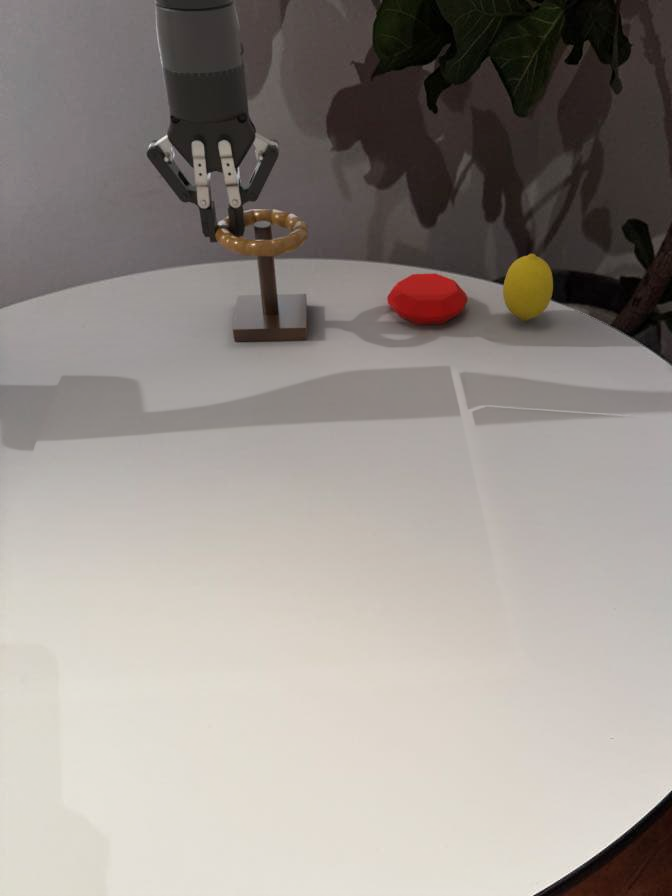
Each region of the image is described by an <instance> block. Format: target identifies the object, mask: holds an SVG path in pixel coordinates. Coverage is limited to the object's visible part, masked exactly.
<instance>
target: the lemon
mask: <svg viewBox="0 0 672 896" xmlns="http://www.w3.org/2000/svg"><path fill="white" fill-rule="evenodd" d="M553 290H554V279H553V272H552V269H551V267H550V266H549V264H548V263H547V262H546V261H545V260H544V259H542V258H541V257H539V256H536V254H535V253H529V254H528V255H523V256H521V257H519V258H517V259H516V260H515V261H513V262H512V264H511V265H510V266H509V267H508V270H507V272H506V275H505V278H504V281H503V287H502V295H503V301H504V304H505V306H506V308H507V310H508V311H509V312H510V313H511V314H512V315H513V316H515V317H517V318H519V319H520V320H521V321H522V322H527V321H529V319H534V318H536V317H538V316H540V315H541V314H543V312H545V311H546V310H547V308H548V306H549V305H550V302H551V299H552V296H553Z"/></svg>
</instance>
